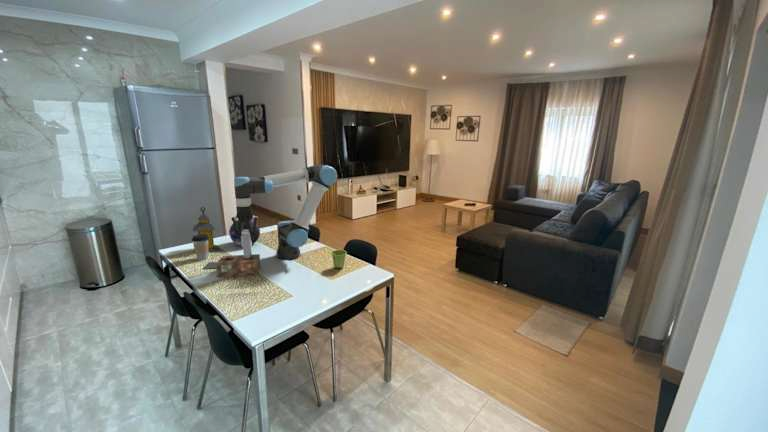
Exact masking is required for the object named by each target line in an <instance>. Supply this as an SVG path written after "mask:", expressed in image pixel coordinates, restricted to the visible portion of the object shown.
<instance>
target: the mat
mask: <svg viewBox="0 0 768 432" xmlns="http://www.w3.org/2000/svg"><path fill="white" fill-rule="evenodd" d="M217 262H218V261H211V262H210V261H209V262H207V263H206V265H204V266H203V268H202V270H217V269H216V263H217Z"/></svg>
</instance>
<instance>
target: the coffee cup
mask: <svg viewBox="0 0 768 432" xmlns="http://www.w3.org/2000/svg"><path fill="white" fill-rule="evenodd" d="M208 239H209V237H208V235H206V234H201V235H199V234H196V235H193V236H192V238H191V242H193V243H192V245H193V249H194V254H195V253H196V254H195V255H196V259H197V261H198V262H199V261H206V260H208V259H209V252H208Z"/></svg>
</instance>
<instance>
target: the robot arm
mask: <svg viewBox="0 0 768 432" xmlns="http://www.w3.org/2000/svg"><path fill="white" fill-rule="evenodd" d="M337 173H338V172H337V170H336V169H335V168H334V167H332V166H330V165H327V164H324V165H323V164H315V165H312V166H306V167H303V168H302V169H299V170H294V171H287V172H281V173H276V174H270V175H265V176H257V177H256V176H253V177H248V176H235V177H234V180H233V183H234V185H233V187H234V194H235V195H234V197H235V206H236V207H235V209H236V214H235V216H232V217H231V221H232V224H233V225H234V230H235V235H239V241H241V242H242V246H241V248H243V241H242V233H241V232H242V230H243V223H244V222H247V225H248V229H249V232H250V235H249V244H250V247H251V248H252V247H253V244H252V241H253V240H254V238H253V235H254V234H256V233H257V225H258V223H257V221H258V219H259V217H258V215H257V216H255V215H254V214H253V211H252V205H251V204H252V198H251V195H255V194H257V195H258V194H270V193H272V192H273V191H274V188H277V187H282V186H288V185H292V184H298V183H304V182H305V183H311V187H310V189H309V191H308V193H307V196H306V197H305V200H304V202H303V203H302V205H301V207H300V209H299V211H298V214H297V216H296V217H295V219H294V220H283V221H279V222H277V227H276V228H277V241H278V243H277V244H278V245H277V250H276V252H275V254H276V255H275V256H276V258H278V259H280V260H289V259H296V258H298V257H300V256H301V250H300V248H302V247H304V245H305V244H306V243H307V242H308V239H309V237H308V236H309V235H308V233H309V231H310V227H309V225H310V224H311V223H310V222H311V221H312V219H313V217H314V214H316V210H317V208H318V207H319V204H320V202H321V200H322V198H323V196H324V195H325V192H326V191H329V189H330V188H331V186H332V185H334V184H335V183H336V182H337V180H338V174H337ZM237 220H239V221H240V227H239V232H238V226H237ZM250 220H253V221H254V222H253V230H252V226H251V221H250Z"/></svg>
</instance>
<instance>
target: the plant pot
mask: <svg viewBox="0 0 768 432" xmlns="http://www.w3.org/2000/svg"><path fill="white" fill-rule="evenodd" d="M347 253H348V252H347V251H346V250H343V249H335V250H332V251H331V252H330V255H331V257H332V262H333V267H335V268H343V267H345V262H346V261H345V260H346V255H347Z"/></svg>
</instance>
